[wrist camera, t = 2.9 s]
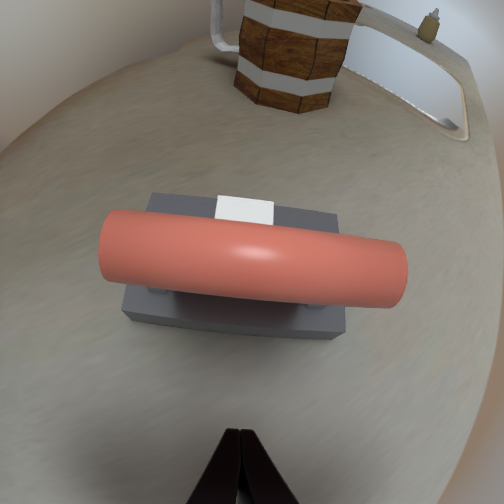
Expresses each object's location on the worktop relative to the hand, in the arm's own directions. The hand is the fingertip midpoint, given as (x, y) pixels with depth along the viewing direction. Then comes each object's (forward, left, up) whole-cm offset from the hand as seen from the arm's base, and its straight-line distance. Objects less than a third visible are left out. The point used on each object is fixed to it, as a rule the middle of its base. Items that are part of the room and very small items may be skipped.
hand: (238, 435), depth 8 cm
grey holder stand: (+9, +4, -10) cm, 14 cm away
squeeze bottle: (+136, -9, -10) cm, 136 cm away
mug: (+36, +16, -10) cm, 40 cm away
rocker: (+8, +4, -7) cm, 11 cm away
